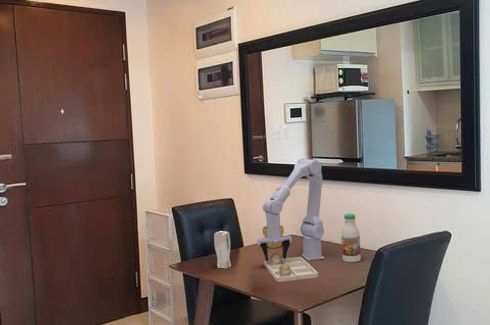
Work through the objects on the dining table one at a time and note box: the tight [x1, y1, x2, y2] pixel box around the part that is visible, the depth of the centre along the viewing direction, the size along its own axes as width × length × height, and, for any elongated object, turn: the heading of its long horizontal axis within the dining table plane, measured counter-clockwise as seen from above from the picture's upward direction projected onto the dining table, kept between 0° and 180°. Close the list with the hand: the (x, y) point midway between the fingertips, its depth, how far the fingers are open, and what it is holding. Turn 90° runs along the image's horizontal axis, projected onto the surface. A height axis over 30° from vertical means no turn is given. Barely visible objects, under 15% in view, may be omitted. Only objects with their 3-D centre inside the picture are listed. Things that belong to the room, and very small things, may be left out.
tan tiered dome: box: [279, 263, 291, 277], centre depth 203 cm, size 4×4×6 cm
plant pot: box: [262, 224, 285, 249], centre depth 254 cm, size 10×10×10 cm
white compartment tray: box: [263, 256, 320, 283], centre depth 212 cm, size 25×17×2 cm
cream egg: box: [269, 252, 282, 266], centre depth 219 cm, size 4×4×6 cm
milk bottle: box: [341, 213, 362, 263], centre depth 222 cm, size 8×8×20 cm
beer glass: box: [213, 230, 232, 269], centre depth 225 cm, size 7×7×15 cm
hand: (275, 259), depth 219 cm, fingers open, 7 cm apart
